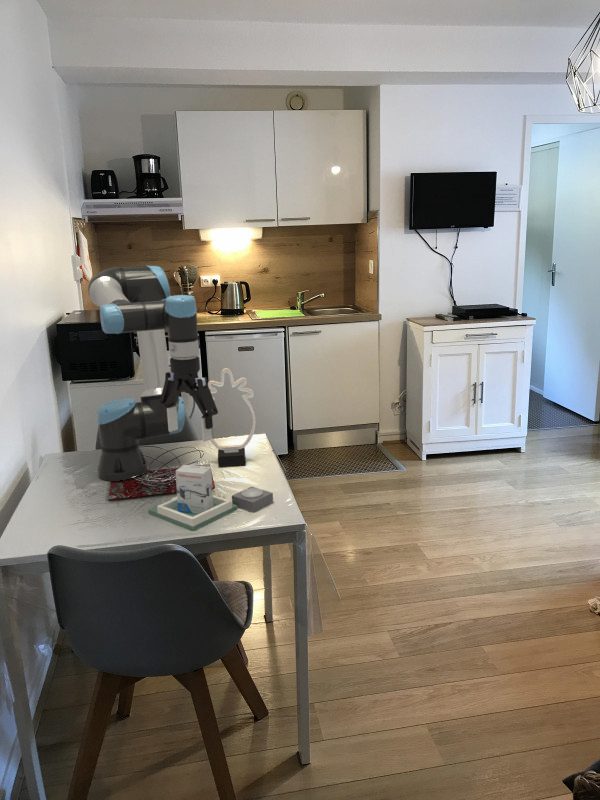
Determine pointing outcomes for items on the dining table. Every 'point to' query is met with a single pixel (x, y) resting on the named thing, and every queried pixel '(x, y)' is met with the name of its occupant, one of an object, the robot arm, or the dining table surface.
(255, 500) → the push button
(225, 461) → the lamp
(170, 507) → the board
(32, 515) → the dining table surface
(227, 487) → the dining table surface
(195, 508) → the ink box
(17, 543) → the dining table surface
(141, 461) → the robot arm
